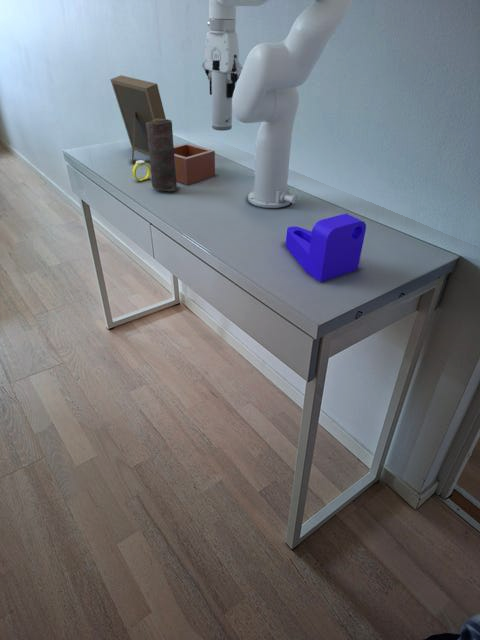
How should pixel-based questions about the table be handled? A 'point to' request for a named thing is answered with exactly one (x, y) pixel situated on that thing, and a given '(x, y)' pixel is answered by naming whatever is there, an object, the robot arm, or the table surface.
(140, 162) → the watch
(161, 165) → the dark brown tall block
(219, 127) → the travel mug
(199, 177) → the holder
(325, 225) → the bracket
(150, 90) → the photo frame
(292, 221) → the table surface
